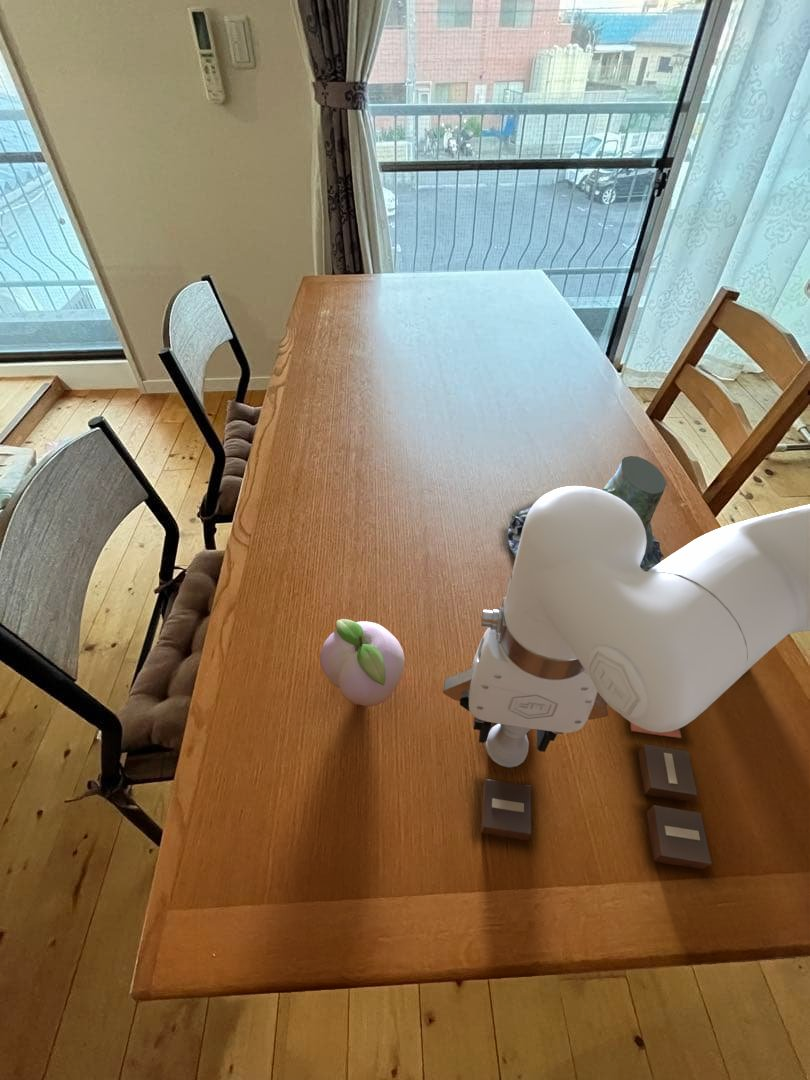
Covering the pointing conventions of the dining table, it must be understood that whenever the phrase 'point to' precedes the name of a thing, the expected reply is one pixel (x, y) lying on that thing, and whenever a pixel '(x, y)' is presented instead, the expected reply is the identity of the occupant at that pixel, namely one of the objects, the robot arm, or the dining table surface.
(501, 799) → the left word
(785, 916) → the dining table surface
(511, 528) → the tree stump
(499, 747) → the rook chess piece
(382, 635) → the decorative fruit
